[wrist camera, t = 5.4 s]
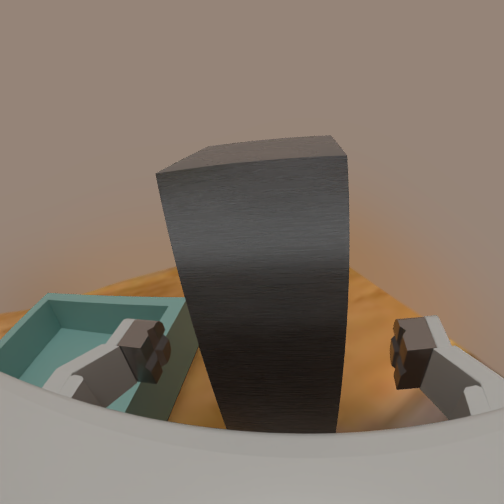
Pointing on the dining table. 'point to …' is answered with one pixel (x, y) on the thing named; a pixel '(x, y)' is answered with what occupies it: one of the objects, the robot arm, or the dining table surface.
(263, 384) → the brushed steel pillar
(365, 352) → the dining table surface
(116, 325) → the tray
